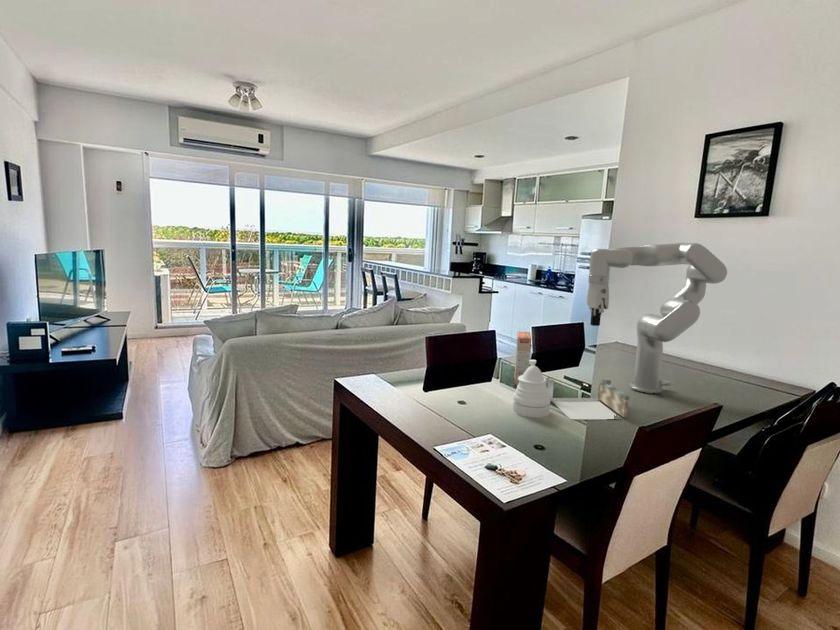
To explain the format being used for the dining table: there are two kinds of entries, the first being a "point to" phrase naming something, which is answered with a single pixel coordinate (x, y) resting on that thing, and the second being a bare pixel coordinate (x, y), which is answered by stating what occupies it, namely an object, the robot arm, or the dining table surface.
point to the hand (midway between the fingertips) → (595, 325)
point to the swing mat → (585, 410)
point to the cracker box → (522, 354)
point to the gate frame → (550, 390)
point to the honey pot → (532, 393)
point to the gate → (613, 398)
